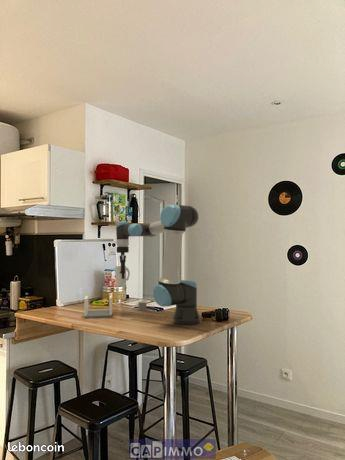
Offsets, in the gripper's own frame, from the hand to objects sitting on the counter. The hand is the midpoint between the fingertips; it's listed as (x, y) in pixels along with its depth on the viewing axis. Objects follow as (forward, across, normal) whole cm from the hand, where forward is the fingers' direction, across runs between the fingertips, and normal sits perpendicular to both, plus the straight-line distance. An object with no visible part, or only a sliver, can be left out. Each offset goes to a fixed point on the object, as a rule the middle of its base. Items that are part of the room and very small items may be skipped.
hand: (122, 283), depth 222 cm
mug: (+2, -1, 0) cm, 2 cm away
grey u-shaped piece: (+19, +2, -15) cm, 24 cm away
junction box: (+19, -13, +13) cm, 27 cm away
